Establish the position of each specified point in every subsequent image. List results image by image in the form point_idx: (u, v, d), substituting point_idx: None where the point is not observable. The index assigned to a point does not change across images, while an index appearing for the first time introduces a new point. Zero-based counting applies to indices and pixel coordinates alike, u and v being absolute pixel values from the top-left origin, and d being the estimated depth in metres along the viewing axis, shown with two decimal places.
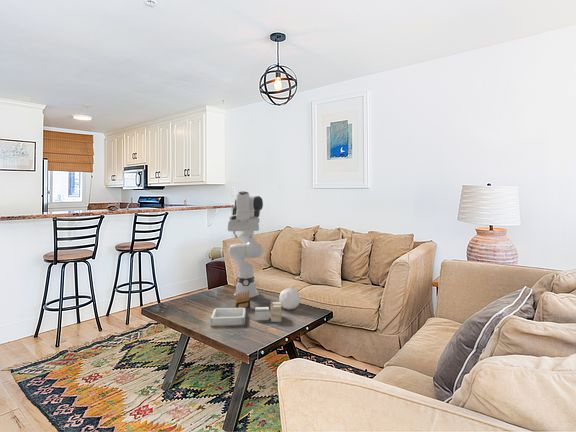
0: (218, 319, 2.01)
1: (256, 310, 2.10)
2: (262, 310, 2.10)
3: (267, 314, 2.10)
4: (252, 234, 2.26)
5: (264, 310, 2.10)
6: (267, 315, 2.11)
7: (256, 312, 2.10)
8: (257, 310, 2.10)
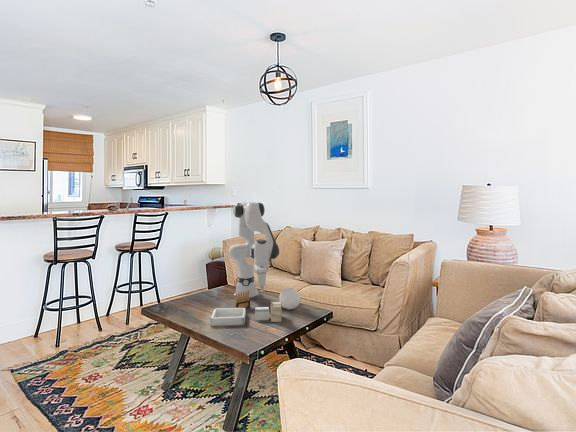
0: (218, 319, 2.01)
1: (256, 310, 2.10)
2: (262, 310, 2.10)
3: (267, 314, 2.10)
4: None
5: (264, 310, 2.10)
6: (267, 315, 2.11)
7: (256, 312, 2.10)
8: (257, 310, 2.10)
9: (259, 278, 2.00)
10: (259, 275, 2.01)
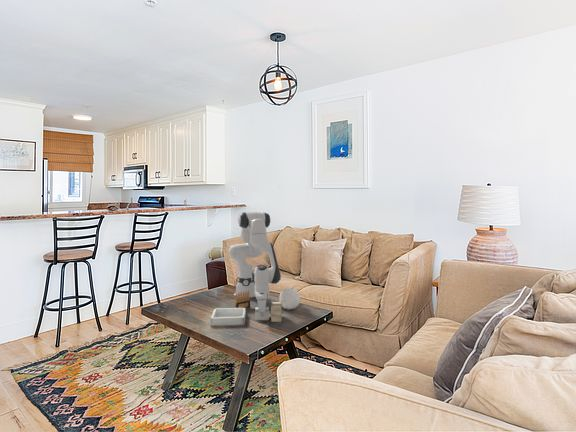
0: (218, 319, 2.01)
1: (256, 310, 2.10)
2: None
3: (267, 314, 2.11)
4: None
5: None
6: (267, 315, 2.11)
7: (256, 312, 2.10)
8: (257, 310, 2.10)
9: (259, 305, 2.01)
10: (259, 302, 2.02)
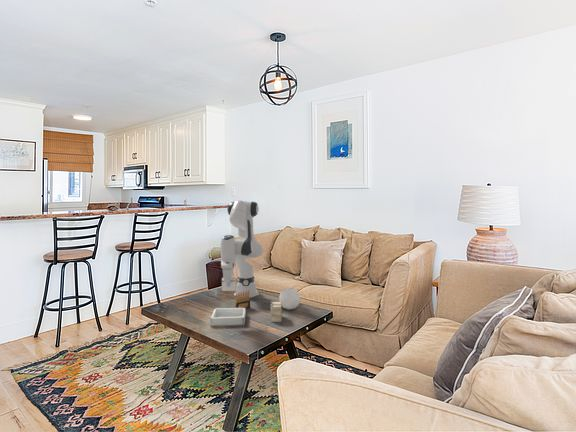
0: (218, 319, 2.01)
1: (222, 280, 2.07)
2: None
3: (234, 284, 2.08)
4: None
5: None
6: (234, 285, 2.08)
7: (222, 282, 2.07)
8: (223, 280, 2.07)
9: (224, 274, 1.99)
10: (224, 271, 1.99)
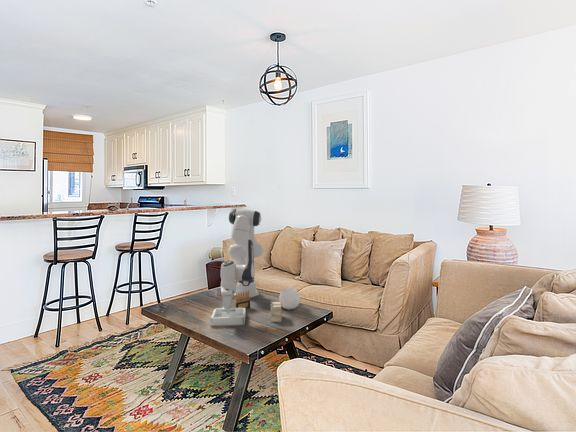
0: (218, 319, 2.01)
1: (222, 309, 2.09)
2: None
3: (234, 314, 2.09)
4: None
5: (230, 310, 2.09)
6: (234, 315, 2.09)
7: (222, 312, 2.09)
8: (223, 310, 2.09)
9: (224, 301, 2.00)
10: (224, 298, 2.00)
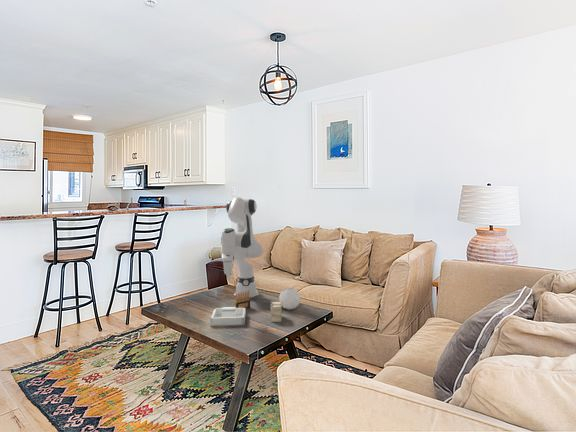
0: (218, 319, 2.01)
1: (222, 309, 2.09)
2: (228, 310, 2.09)
3: (234, 314, 2.09)
4: (231, 271, 2.20)
5: (230, 310, 2.09)
6: (234, 315, 2.09)
7: (222, 312, 2.09)
8: (223, 310, 2.09)
9: (225, 267, 2.03)
10: (225, 264, 2.04)
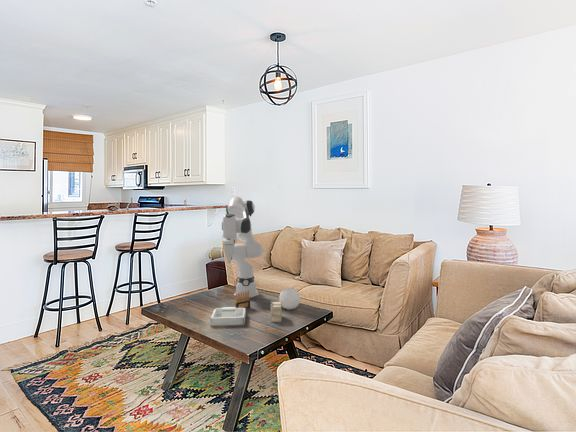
0: (218, 319, 2.01)
1: (222, 309, 2.09)
2: (228, 310, 2.09)
3: (234, 314, 2.09)
4: (232, 256, 2.28)
5: (230, 310, 2.09)
6: (234, 315, 2.09)
7: (222, 312, 2.09)
8: (223, 310, 2.09)
9: (226, 249, 2.12)
10: (226, 246, 2.12)
